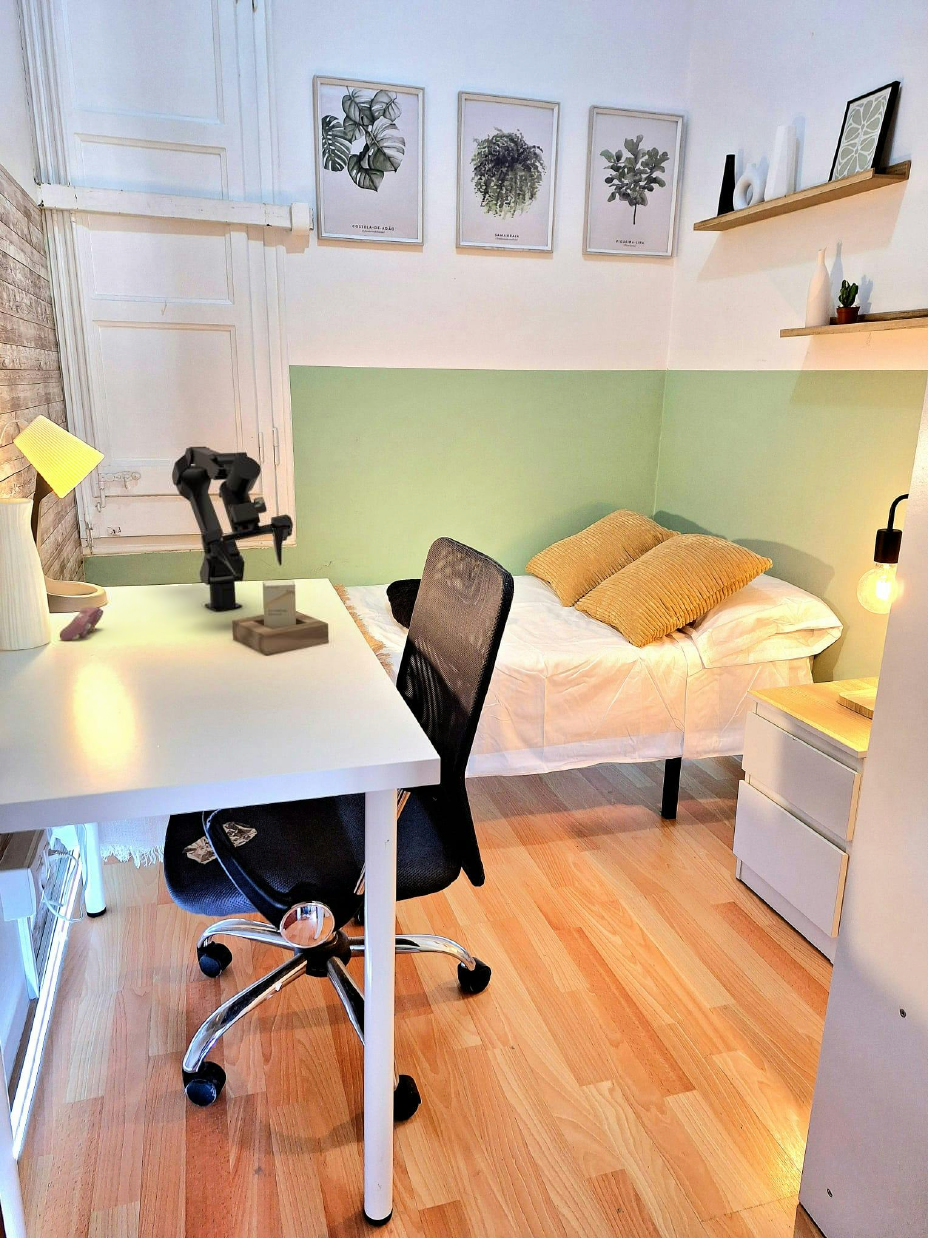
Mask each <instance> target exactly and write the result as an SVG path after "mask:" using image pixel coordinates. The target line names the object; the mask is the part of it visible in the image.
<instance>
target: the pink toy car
mask: <svg viewBox="0 0 928 1238" xmlns="http://www.w3.org/2000/svg"><path fill="white" fill-rule="evenodd" d="M103 615H104V610H103V609H102V608H100V607H97V606H95V607H94V605H91V606H88V607H87V606H86V607H84V608H81V610H80V611H79V613H78V614H77V615H75V617H74V618H73V619H72V621H71V622H70V623H68V625H66V626H65V627H64V628H62V630H61V631H60V632H59V638H60V640H62V641H71V640H72V639H74V638H76V637H78V636H79V637H81V638H84V637H86V635H87V633H89V634H90V633H92V631H95V629H96V626H97V624H98V623H99V621H100V620H101V619H102V617H103Z"/></svg>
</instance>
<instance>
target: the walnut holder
mask: <svg viewBox="0 0 928 1238" xmlns="http://www.w3.org/2000/svg"><path fill="white" fill-rule="evenodd" d="M231 625H232V639H233V640H234V641H236V642H238V643H241V644H242V645H245V646H246V647H248V648H251V649H252V650H254V651H257V652H259V653H260V654H261V655H262V654H263V655H264V656H270V655H276V654H281V653H285V652H290V651H295V650H299V649H303V648H308V647H313V646H319V645H323V644H328V643H329V623H328V622H325V621H322V620H320V619H317V618H315V617H313V616H311V615H307V614H305V613H302V612H299V611H298V610H296V625H293V626H288V627H283V628H278V629H270V628H267V627H265V626H264V614H260V615H254V616H247V617H243V618H238V619H232V620H231Z"/></svg>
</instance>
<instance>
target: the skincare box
mask: <svg viewBox="0 0 928 1238" xmlns="http://www.w3.org/2000/svg"><path fill="white" fill-rule="evenodd" d="M262 602H263V603H262V604H263V615H264V626H265V627H267V628H270V629H278V628H283V627H288V626H293V625H296V611H297V610H296V607H297V605H296V583H295V581H294V580H293V579H289V580H269V581H268V580H265V581H262Z"/></svg>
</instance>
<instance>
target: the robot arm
mask: <svg viewBox="0 0 928 1238" xmlns="http://www.w3.org/2000/svg"><path fill="white" fill-rule="evenodd" d="M260 474H261V465H260V464H259V463H258V462H257V460H255V459H254V458H252V457H250V456H248V454H247V452H246V451H244V452H243V451H239V452H218V451H216V450H213V449H211V448H210V447H207V446H189V447H187V448H186V449H185V452H184V454H183V455H182V456H181V457H180V458H178V459H177V460H176V461H175V462H174V465H173V469H172V473H171V479H172V483H173V485H174V486H175V488H176V490H177V491H178V493H179V495H180V496H181V497H183V498H184V499H186V500H187V501H188V502H189V504H190V506H191V509H192V512H193V514H194V518H195V521H196V523H197V525H198V528H199V532H200V533H201V534H200V535H201V536H200V538H201V539H200V540H201V545H202V548H203V553H204V555H203V561H202V564H201V567H200V570H199V579H200V582H201V583H203V584H204V585H206V586H209V599H210V602H209V603H208V602H207V603H205V604H204V607H206V608H208V609H211V610H213V611H215V612H221V611H228V610H233V609H240V608H242V607H243V604H240V603H237V601H236V600H237V599H236V584H235V583H236V582H243V581H244V573H245V563H246V562H245V561H244V558H243V555H241V552H240V550H239V548H238V545H237V541H241V540H245V539H249V538H255V537H259V536H263V535H268V534H271V535H272V537H273V540H272V542H273V547H274V553H275V556H276V560H277V563H278V565H279V566H282V564H283V563H282V561H283V559H282V558H283V556H282V554H283V553H282V552H283V551H282V550H283V549H282V547H283V543H284V542H285V541H287V540H288V538H289V537H291V536H292V534H293V529H294V528H293V526H294V523H293V520H292V518H291V516H290V515H288V513H287V514H286V513H285V514H282V515H278V516H277V515H276V516H272V517H271V519H270V523H268V524H264V525H263V524H262V525H260V523H261V518H260V515H261V514H264V513H266V512H267V511H268V509H267V506H266V502H265V499H264V496H259V497H255V498H253V501H252V499H251V496H250V492H251V491H252V490H253V489H254V488H255V487H254V486H255V485H256V483H257V480H258V478H259V476H260ZM212 480H213V481H222V482H221V484H220V486H219V488H218V490H219V492H218V498H221V500H222V503H223V507H224V509H225V513H226V516H227V519H228V523H229V526H230V529H231V531H230V532H227V533H224V531H223V527H222V525H221V523H220V519H219V518H218V515H217V512H216V510H215V507H214V504H213V502H212V499H211V496H210V493H209V490H210V487H211V483H212Z"/></svg>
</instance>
